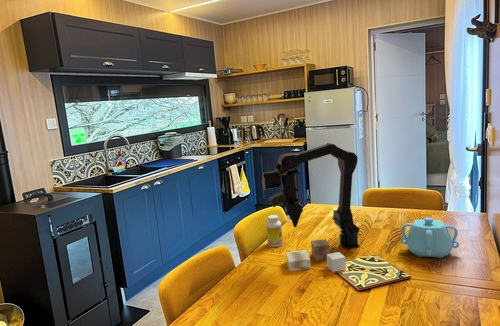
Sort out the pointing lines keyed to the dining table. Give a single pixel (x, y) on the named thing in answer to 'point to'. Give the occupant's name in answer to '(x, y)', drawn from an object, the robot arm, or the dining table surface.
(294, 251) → the walnut card
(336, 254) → the grey cube
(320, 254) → the walnut cube
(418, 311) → the dining table surface
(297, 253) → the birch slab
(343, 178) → the robot arm
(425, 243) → the decorative pot
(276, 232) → the supplement bottle
